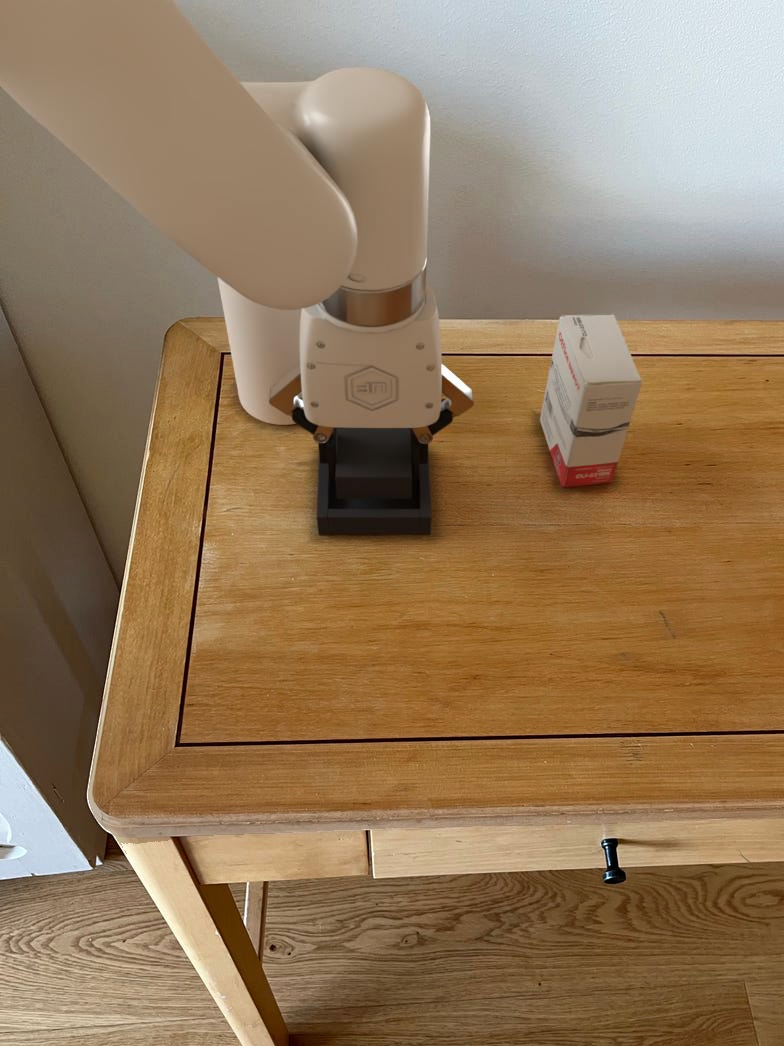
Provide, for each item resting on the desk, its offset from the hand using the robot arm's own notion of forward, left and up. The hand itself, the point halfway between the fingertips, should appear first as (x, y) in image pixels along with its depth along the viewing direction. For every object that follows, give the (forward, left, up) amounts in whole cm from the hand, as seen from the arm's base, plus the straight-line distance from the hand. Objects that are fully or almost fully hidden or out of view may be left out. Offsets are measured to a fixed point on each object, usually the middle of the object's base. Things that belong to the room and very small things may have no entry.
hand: (374, 464), depth 79 cm
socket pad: (0, 0, -3) cm, 3 cm away
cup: (-8, +12, -4) cm, 15 cm away
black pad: (0, 0, -1) cm, 1 cm away
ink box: (+18, +5, -4) cm, 19 cm away
